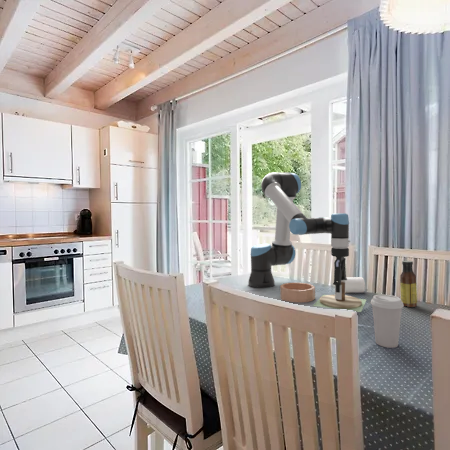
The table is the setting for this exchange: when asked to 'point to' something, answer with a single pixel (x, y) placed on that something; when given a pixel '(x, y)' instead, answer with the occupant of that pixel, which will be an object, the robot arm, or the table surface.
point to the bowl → (297, 292)
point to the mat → (339, 308)
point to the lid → (345, 303)
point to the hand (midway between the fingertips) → (340, 296)
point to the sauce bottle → (408, 285)
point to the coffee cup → (387, 319)
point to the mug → (354, 285)
